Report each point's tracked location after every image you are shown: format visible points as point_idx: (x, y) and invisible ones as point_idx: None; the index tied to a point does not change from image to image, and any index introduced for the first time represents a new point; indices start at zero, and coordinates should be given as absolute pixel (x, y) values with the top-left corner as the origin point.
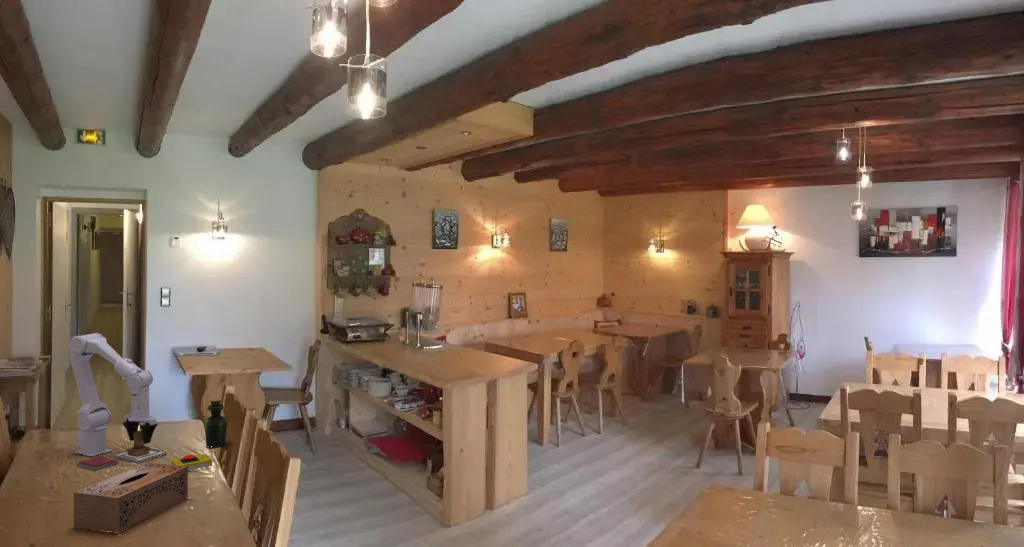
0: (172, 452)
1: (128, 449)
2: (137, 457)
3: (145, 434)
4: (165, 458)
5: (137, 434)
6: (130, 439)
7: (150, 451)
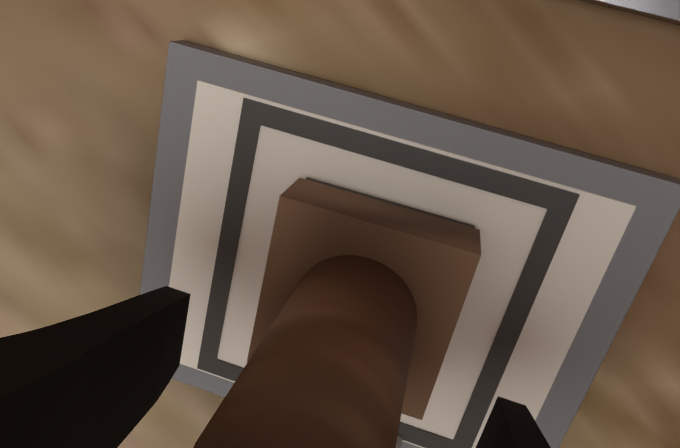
0: (149, 412)
1: (460, 246)
2: (283, 158)
3: (7, 342)
4: (67, 249)
5: (247, 392)
6: (509, 410)
7: None
